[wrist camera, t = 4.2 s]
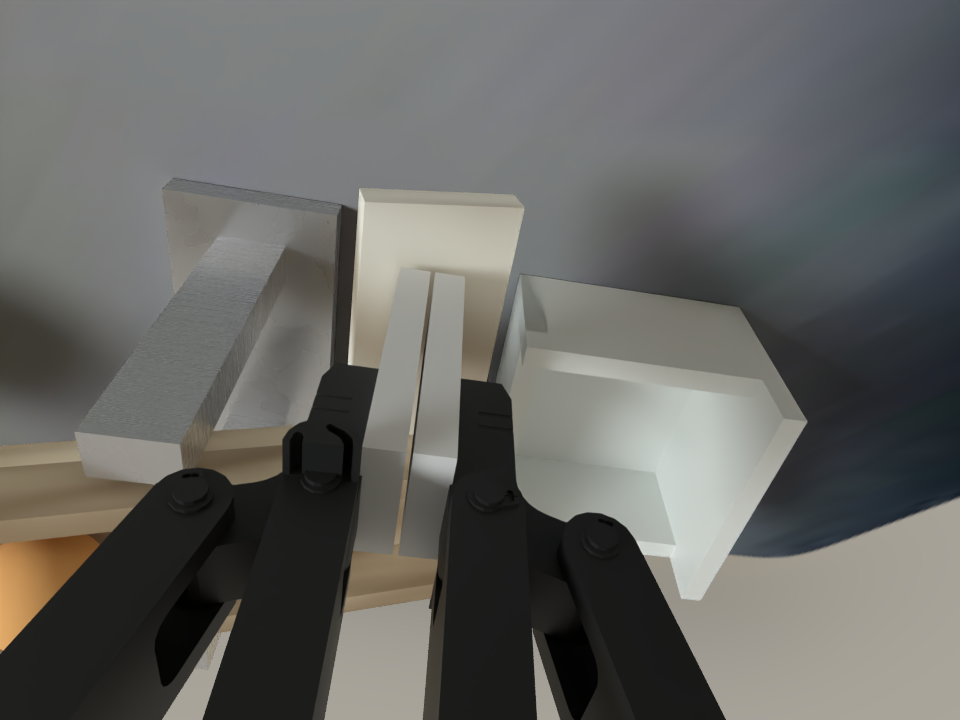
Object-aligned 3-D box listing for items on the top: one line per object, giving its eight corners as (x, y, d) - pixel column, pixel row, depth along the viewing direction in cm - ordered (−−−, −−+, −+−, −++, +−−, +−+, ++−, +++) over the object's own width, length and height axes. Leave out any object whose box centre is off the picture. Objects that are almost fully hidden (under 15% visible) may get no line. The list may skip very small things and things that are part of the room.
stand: (173, 178, 24) (-25, 370, 15) (341, 204, 25) (255, 406, 15) (199, 443, 31) (80, 682, 22) (328, 458, 32) (265, 698, 23)
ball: (-6, 633, 15) (130, 548, 17) (-74, 552, 16) (61, 483, 19) (26, 705, 17) (145, 619, 19) (-37, 627, 18) (81, 556, 20)
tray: (520, 273, 26) (530, 384, 20) (739, 307, 27) (807, 421, 21) (479, 451, 32) (478, 576, 26) (662, 474, 33) (700, 600, 27)
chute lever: (-420, 132, 12) (-642, 238, 9) (502, 179, 18) (561, 254, 15) (-142, 586, 20) (-210, 728, 17) (436, 516, 26) (466, 611, 23)
